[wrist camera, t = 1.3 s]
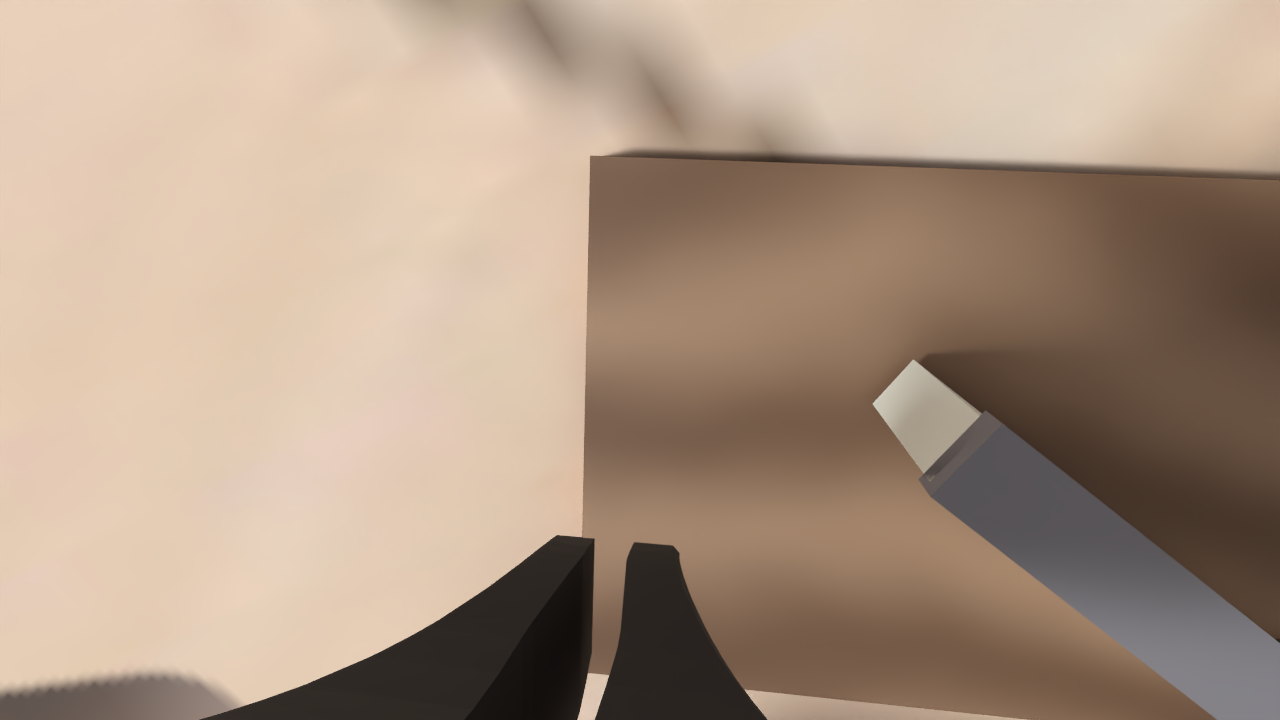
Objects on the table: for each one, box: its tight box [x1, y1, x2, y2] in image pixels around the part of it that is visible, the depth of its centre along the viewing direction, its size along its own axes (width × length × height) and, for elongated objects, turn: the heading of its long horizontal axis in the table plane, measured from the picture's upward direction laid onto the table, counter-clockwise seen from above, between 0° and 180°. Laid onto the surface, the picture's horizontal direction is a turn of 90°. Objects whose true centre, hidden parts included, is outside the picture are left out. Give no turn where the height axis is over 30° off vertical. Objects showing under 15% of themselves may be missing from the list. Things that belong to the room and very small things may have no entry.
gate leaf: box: [873, 359, 1280, 720], centre depth 15 cm, size 12×2×5 cm, turn 53°
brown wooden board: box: [582, 156, 1280, 720], centre depth 16 cm, size 15×22×8 cm
